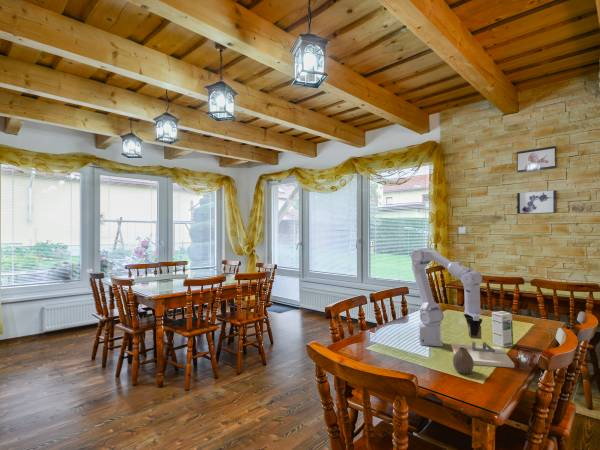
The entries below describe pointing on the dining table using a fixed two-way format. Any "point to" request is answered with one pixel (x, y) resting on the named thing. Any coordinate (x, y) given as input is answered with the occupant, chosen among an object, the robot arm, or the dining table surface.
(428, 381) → the dining table surface
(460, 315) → the dining table surface
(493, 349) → the bent wire
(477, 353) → the board
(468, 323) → the walnut block
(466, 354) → the vase
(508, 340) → the syrup box
